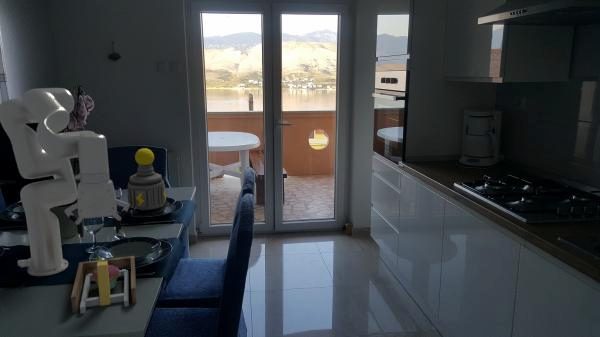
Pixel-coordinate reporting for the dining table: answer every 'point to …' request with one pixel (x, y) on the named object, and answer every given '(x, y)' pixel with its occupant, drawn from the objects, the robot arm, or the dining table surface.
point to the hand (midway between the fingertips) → (100, 234)
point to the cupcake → (113, 274)
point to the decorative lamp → (146, 184)
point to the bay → (90, 267)
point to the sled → (104, 289)
